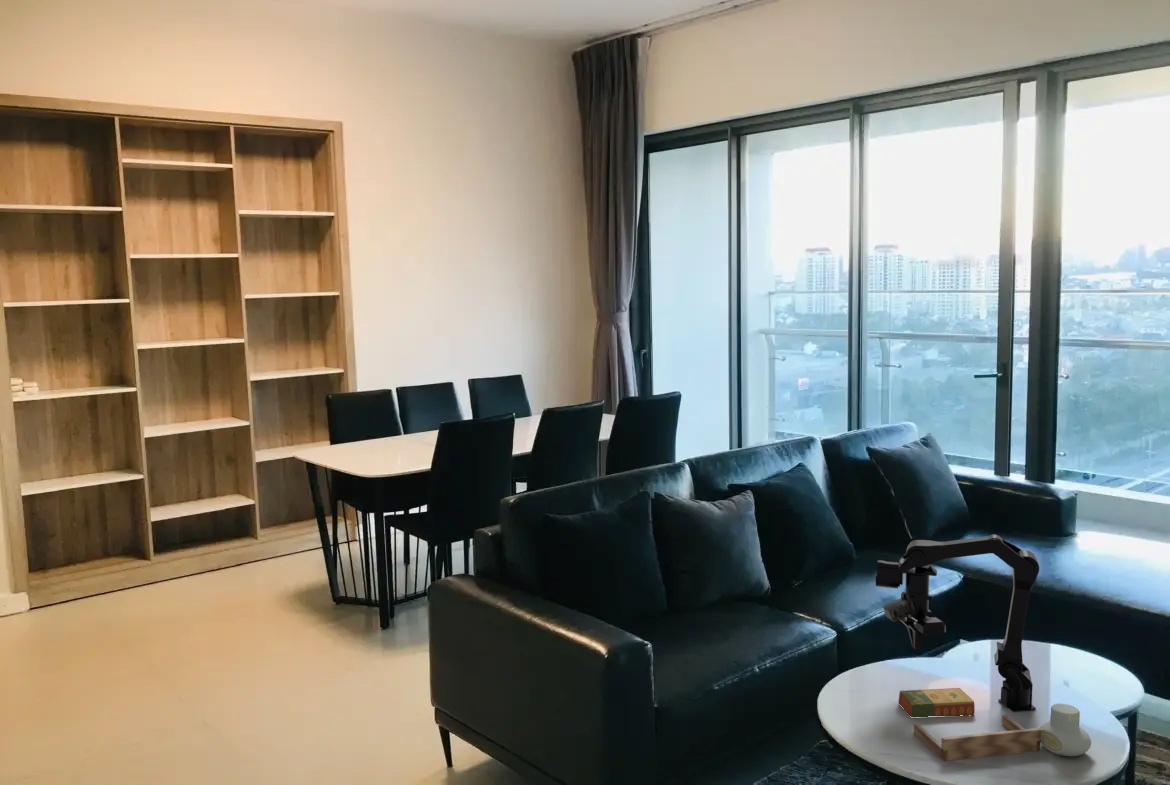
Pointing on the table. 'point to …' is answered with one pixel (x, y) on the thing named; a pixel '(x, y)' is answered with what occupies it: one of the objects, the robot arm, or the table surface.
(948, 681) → the table surface
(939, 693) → the carton
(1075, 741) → the air freshener
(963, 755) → the frame
